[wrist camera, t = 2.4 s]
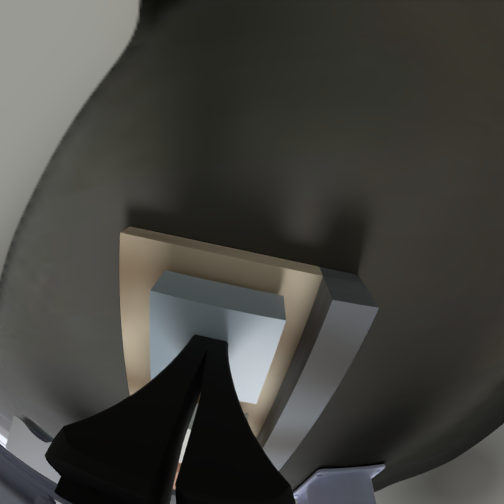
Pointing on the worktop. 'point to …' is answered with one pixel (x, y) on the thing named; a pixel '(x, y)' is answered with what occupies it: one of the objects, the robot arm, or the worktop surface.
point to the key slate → (216, 326)
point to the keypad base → (292, 338)
